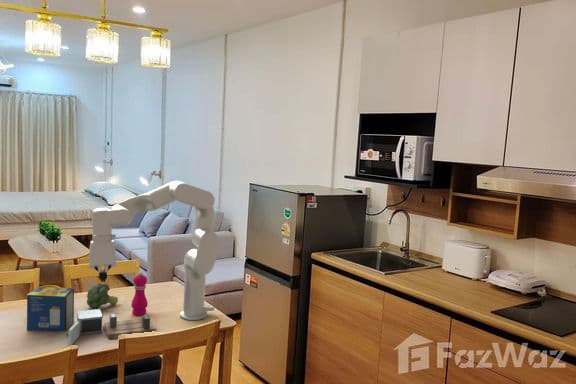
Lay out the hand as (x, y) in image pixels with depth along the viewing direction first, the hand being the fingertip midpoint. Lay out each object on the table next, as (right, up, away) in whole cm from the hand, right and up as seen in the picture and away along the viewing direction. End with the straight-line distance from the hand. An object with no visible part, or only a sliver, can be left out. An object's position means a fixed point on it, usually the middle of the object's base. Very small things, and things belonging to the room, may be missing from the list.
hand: (103, 280), depth 198 cm
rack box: (-6, -21, +2) cm, 22 cm away
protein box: (-23, -20, +2) cm, 31 cm away
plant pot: (-34, -17, +21) cm, 44 cm away
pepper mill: (+8, -20, +23) cm, 31 cm away
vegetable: (-12, -18, +29) cm, 36 cm away
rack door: (-8, -22, -9) cm, 25 cm away
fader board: (+10, -22, +4) cm, 24 cm away
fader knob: (+3, -19, +2) cm, 20 cm away
